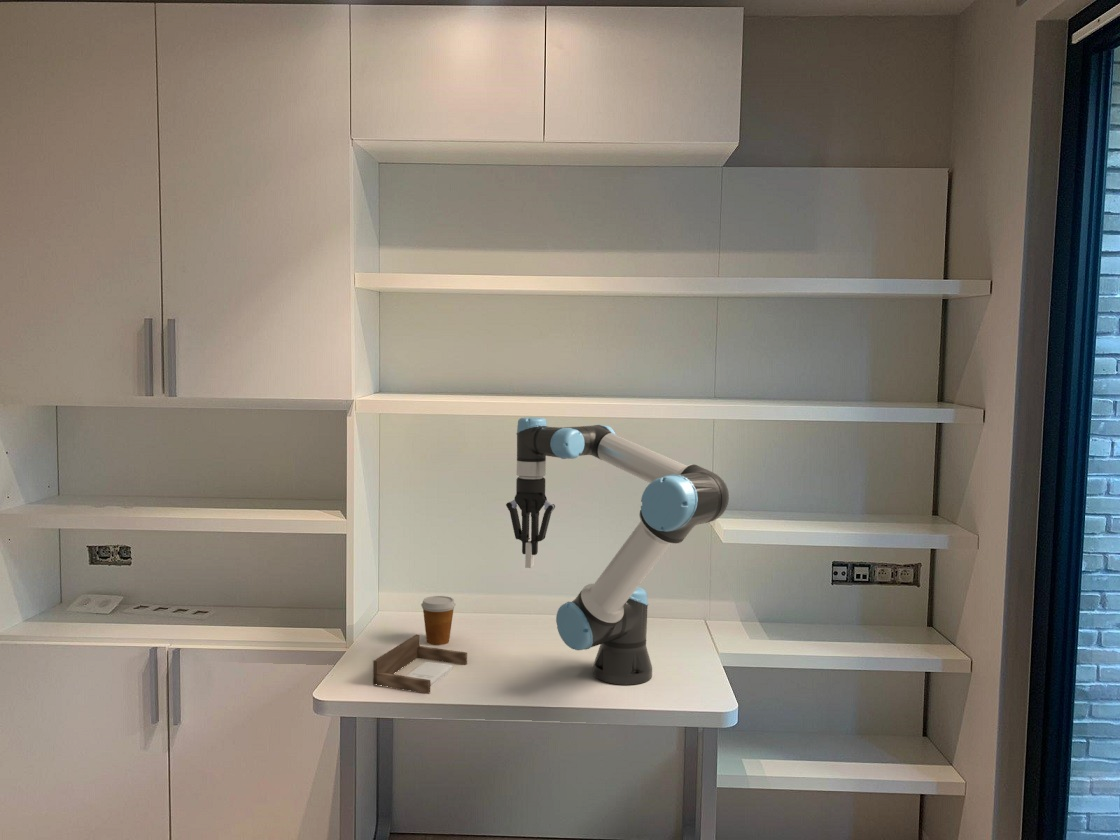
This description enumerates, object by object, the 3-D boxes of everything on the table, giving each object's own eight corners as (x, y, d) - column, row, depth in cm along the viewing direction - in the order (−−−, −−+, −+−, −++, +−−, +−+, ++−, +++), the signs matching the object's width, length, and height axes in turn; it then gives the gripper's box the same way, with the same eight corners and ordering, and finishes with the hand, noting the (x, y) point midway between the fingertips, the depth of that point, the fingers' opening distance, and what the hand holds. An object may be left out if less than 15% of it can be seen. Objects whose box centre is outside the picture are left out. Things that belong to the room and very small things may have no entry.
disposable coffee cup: (422, 648, 238) (423, 605, 238) (419, 637, 248) (419, 596, 247) (457, 646, 241) (457, 603, 240) (452, 635, 250) (452, 594, 249)
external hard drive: (452, 671, 223) (431, 688, 211) (423, 667, 226) (400, 684, 214) (452, 665, 223) (431, 682, 211) (423, 661, 225) (401, 677, 214)
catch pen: (467, 663, 227) (467, 641, 227) (428, 693, 206) (428, 669, 206) (416, 656, 232) (416, 634, 232) (373, 684, 211) (373, 660, 211)
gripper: (559, 476, 226) (557, 565, 227) (512, 473, 230) (511, 561, 231) (550, 480, 219) (549, 572, 220) (502, 477, 222) (501, 567, 224)
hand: (529, 566), depth 226 cm, fingers closed
